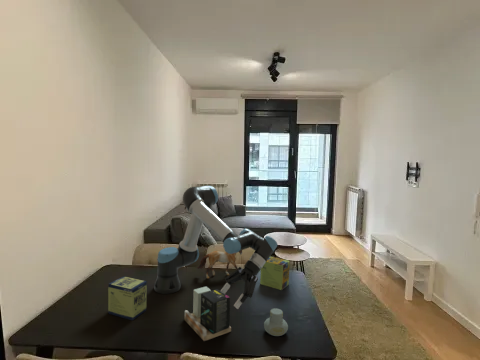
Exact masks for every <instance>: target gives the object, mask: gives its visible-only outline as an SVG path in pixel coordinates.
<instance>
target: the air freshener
mask: <svg viewBox="0 0 480 360" xmlns="http://www.w3.org/2000/svg"><path fill="white" fill-rule="evenodd" d="M283 317H284V312H283V310H282V309H280V308H276V307H275V308H271V309H270V310H269V317H267V318H266V319H265V321H264V322H263V327H264V330H265V332H266V333H267V334H268V335H271V336H273V337H280V336H283V335H285V334H286V333H287V331H288V329H289V325H288V323H287V321H286V320H285V319H284V318H283Z"/></svg>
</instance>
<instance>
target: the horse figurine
mask: <svg viewBox="0 0 480 360" xmlns="http://www.w3.org/2000/svg"><path fill="white" fill-rule="evenodd" d="M238 253H239V255H240V256H241V255H243V250H241V251H239V252H238ZM236 255H237V253H233V254H229V253H227V252H226V251H219V250H213V251H212V252H210V253H207V254H205V255H204V256H202V258H201V260H200V263H199V265H197V267H196V269H198V270H202V269H203V268H204V267H205V266H206V264H207V259H208V263H209V265H208V267H207V268H206V274H205V276H206V279H210V276H209V272H210V270H211V271H212V275H213V276H215V275H216V272H215V270H214V268H213V267H214V265H215V264H216V262H217V263H218V262H220V263H226V270H225V273H226V276H229V275H230V273H229V272H228V269H229V265H230V264H232V266H233V267H234V268H235V271H236V270H237V269H238V268H239V267H238V266H237V264H236V261H237V259H236V258H237V257H236Z"/></svg>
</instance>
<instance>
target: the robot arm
mask: <svg viewBox="0 0 480 360" xmlns="http://www.w3.org/2000/svg"><path fill="white" fill-rule="evenodd" d="M218 200H219V194H218V191H217V189H216V188H215V187H214V186H212V185H202V186H191V187H189V188H187V189H186V190H185V191H184V192H183V194H182V203H183V205H184V207H185V208H186V210H187V211H188V212H189V213H190V216H189V217H190V218H189V220H188V224H187V226H186V229H185V233H184V236H183V238H182V240H181V241H180V242H179V244H178V247H173V246H170V247H165V248H162V249H160V250H159V252H158V253H157V259H156V260H157V277H156V280H155V281H154V289H153V290H154V292H156V293H158V294H162V295H168V294H173V293H176V292H178V291H180V289H181V281H180V278H179V275H178V273H179V272H178V271H179V269H180V268H183V267H187V266H189V265H190V266H191V265H192V264H194V263H195V262H197V261H198V259H199V256H200V252H199V251H200V250H199V248H198V245H197V244H198V241H199V238H200V234H201V231H202V229H203V225H205V226H206V228H208V229H209V230H210V231H211V232H212V233H213V234H214V235H215V236H216V237H217V238H218V240H220V241H221V242H222V243H223V245H222V247H223V249H224V252H227V253H229V254H233V253H236V254H237V253H239V251H241V250H242V251H245V250H246V249H249V248H250V249H252V250H253V253H252V255H250V258H248V259H249V260H246V262H245V264H244V267H243V268H242V267H241V266H239V267H237V268H238V269H237V270H236V269H235V271H233V272H232V273H229V275H227V277H225V278H224V280H225V283H224V285H223V286H222V288H221V289H220V291H221V292H222V293H224V294H225V295H226V293H227V292H228V290H230V288H231V285H232V284H235V283H237V282H239V281H244V290H243V292H242V293H241V294H240V295H239V297H238V298H237V300H236V301H235V303H234V304H233V307H235V309H237V310H239V308H240V307H241V306H242V304H243V303H245V301H246V299H248V298H249V299H251V298H253V295H254V292H255V289H256V284H257V282H258V280H259V278H258V277H257V275H258V274H259V272H261V268H262V267H263V266H264V264H265V263H266V261H267V260H268V258H269V257H272V255H273V254H274V252H275V250H276V249H277V247H278V242H277V241H276V239H274V238H273V237H271V236H269V235H265V236H264V237H262V236H260V235H259V234H257V233H256V232H254V231H253V230H251V229H249V228H244V229H242V230H241V231H240V232H239V233H238V234H237V233H236V232H235V231H233V229H232V228H230V227H229V226H228V224H226V222H224V221H223V220H222V219H221V218H220V217H219V216H218V215H217V214H216V213H215V212H213V210H212V207H213V206H214V205H215V204H217V203H218Z"/></svg>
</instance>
